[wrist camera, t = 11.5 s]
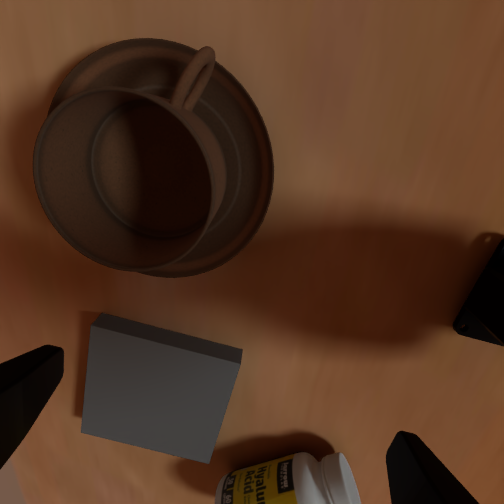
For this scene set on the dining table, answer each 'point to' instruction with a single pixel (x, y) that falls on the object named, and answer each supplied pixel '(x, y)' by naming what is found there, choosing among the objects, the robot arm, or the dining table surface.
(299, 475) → the supplement bottle
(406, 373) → the dining table surface
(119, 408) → the charcoal block
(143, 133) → the cup and saucer
